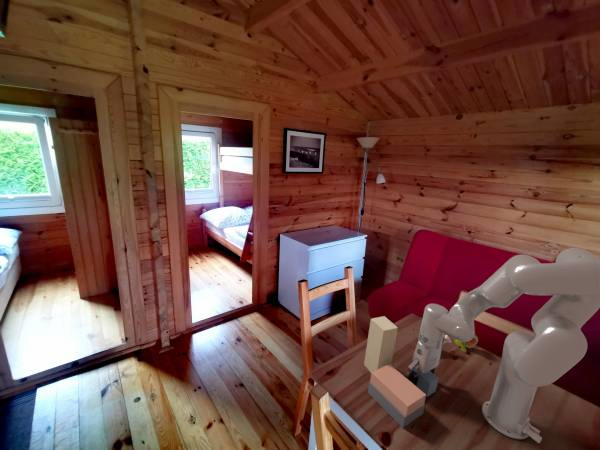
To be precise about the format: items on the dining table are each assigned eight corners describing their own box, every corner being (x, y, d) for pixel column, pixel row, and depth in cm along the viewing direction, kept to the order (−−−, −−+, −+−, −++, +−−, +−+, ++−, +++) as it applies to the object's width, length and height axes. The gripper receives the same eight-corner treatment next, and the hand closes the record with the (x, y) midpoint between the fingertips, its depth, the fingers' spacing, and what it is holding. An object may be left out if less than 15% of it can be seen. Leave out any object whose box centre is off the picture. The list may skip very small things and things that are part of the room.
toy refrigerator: (391, 375, 105) (399, 327, 100) (376, 379, 102) (383, 330, 97) (378, 360, 112) (385, 315, 107) (363, 364, 109) (370, 318, 104)
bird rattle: (463, 347, 127) (448, 340, 125) (476, 327, 125) (462, 321, 123) (473, 356, 121) (458, 350, 119) (487, 336, 119) (472, 329, 117)
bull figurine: (450, 354, 118) (454, 338, 116) (419, 352, 118) (422, 336, 116) (445, 348, 122) (448, 332, 120) (415, 346, 122) (418, 330, 120)
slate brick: (435, 391, 98) (438, 377, 97) (427, 397, 96) (430, 382, 94) (416, 376, 105) (418, 362, 104) (408, 380, 102) (410, 367, 101)
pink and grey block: (422, 413, 89) (427, 394, 87) (402, 428, 84) (406, 407, 82) (387, 381, 101) (390, 363, 99) (367, 392, 96) (370, 373, 94)
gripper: (424, 353, 88) (414, 395, 93) (454, 338, 97) (444, 377, 101) (405, 339, 94) (396, 379, 99) (435, 326, 103) (426, 363, 108)
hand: (420, 378), depth 100 cm, fingers open, 9 cm apart
